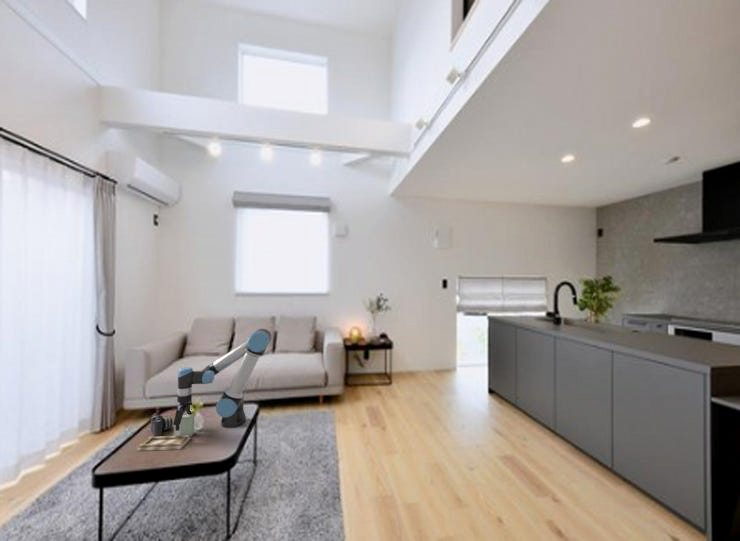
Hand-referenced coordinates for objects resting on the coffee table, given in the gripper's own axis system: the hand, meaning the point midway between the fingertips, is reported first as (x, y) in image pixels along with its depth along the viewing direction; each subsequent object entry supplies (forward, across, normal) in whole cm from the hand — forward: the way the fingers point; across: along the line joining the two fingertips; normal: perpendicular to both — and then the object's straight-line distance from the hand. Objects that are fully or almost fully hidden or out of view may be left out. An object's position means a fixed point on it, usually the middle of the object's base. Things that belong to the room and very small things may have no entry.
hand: (183, 430), depth 196 cm
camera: (+3, -6, -15) cm, 16 cm away
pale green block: (+3, 0, 0) cm, 3 cm away
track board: (+2, +12, -5) cm, 13 cm away
